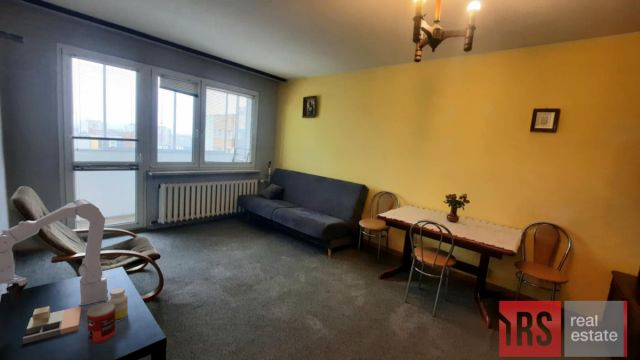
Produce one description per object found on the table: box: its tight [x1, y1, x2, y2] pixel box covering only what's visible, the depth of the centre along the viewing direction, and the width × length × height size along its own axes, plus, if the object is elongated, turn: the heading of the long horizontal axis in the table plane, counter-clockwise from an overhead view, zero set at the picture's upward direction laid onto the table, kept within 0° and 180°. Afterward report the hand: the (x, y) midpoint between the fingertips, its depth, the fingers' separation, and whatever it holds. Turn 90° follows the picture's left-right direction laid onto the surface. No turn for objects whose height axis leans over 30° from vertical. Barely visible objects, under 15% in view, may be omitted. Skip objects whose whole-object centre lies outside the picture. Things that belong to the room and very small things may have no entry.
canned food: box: [86, 302, 116, 344], centre depth 103 cm, size 8×8×11 cm
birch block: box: [32, 305, 51, 325], centre depth 106 cm, size 4×4×4 cm
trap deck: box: [22, 306, 82, 345], centre depth 107 cm, size 14×14×2 cm
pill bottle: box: [107, 287, 129, 323], centre depth 113 cm, size 6×6×12 cm
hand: (5, 301), depth 104 cm, fingers open, 7 cm apart
